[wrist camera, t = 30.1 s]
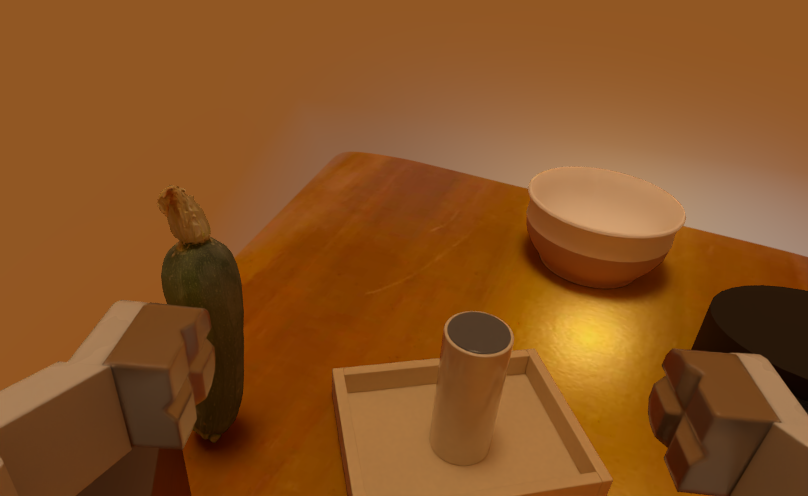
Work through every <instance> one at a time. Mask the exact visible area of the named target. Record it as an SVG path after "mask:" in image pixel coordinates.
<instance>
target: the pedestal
mask: <svg viewBox="0 0 808 496" xmlns="http://www.w3.org/2000/svg"><path fill="white" fill-rule="evenodd" d="M131 448H132V450H131V451H130V452H128V453H127V454H126V455H125V456H123V457H122V458H121V459H120V460H119V461H117V462H116V463H115V464H114V465H112V466H111V467H110V468H109V469H108V470H106V471H105V472H104V473H103V474H101V475H100V476H99V477H98V478H97V479H95V480H94V481H93V482H92V483H91V484H89V485H88V486H87V487H86V488H84V489H83V490H82V491H81V492H80V493H78V494H77V495H76V496H191V492H190V487H189V482H188V477H187V472H186V467H185V461H184V456H183V451H182V450H180V449H162V448H145V447H131Z"/></svg>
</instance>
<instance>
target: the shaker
mask: <svg viewBox="0 0 808 496" xmlns="http://www.w3.org/2000/svg"><path fill="white" fill-rule="evenodd" d="M513 344H514V335H513V332H512V330H511V328H510V327H509V326H508V325H507V324H506V323H505V322H504V321H503V320H501V319H500V318H498V317H496V316H494V315H491V314H488V313H484V312H479V311H467V312H461V313H458V314H456V315H454V316H452V317H451V318H449V319H448V321H447V322H446V324H445V326H444V331H443V339H442V346H441V353H440V360H439V368H438V375H437V382H436V390H435V397H434V404H433V411H432V419H431V426H430V433H429V441H430V445H431V447H432V449H433V450H434V452H435V453H436V454H437V455H438V456H439V457H440V458H441V459H443V460H444V461H446V462H448V463H451V464H454V465H459V466H469V465H474V464H476V463H479V462H480V461H482V460H483V459H484V458H485V457H486V456H487V455H488V453H489V450H490V447H491V442H492V438H493V433H494V429H495V424H496V420H497V415H498V411H499V406H500V402H501V397H502V393H503V388H504V384H505V379H506V375H507V371H508V366H509V362H510V357H511V353H512V348H513Z"/></svg>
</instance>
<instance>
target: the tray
mask: <svg viewBox="0 0 808 496" xmlns="http://www.w3.org/2000/svg"><path fill="white" fill-rule="evenodd" d="M439 360H440V358H436V359H426V360H416V361H406V362H396V363H387V364H377V365H367V366H357V367H347V368H335V369H332V396H333V402H334V409H335V415H336V422H337V428H338V435H339V442H340V448H341V455H342V461H343V468H344V474H345V481H346V488H347V494H348V496H607V494H608V491H609V489H610V486H611V484H612V482H613V479H612V477H611V475H610V474H609V472H608V470H607V469H606V467H605V465H604V464H603V462H602V460H601V459H600V457H599V455H598V454H597V452H596V450H595V449H594V447H593V445H592V444H591V442H590V440H589V439H588V437H587V435H586V434H585V432H584V430H583V429H582V427H581V425H580V424H579V422H578V420H577V419H576V417H575V415H574V414H573V412H572V410H571V409H570V407H569V405H568V404H567V402H566V400H565V399H564V397H563V395H562V393H561V392H560V390H559V388H558V387H557V385H556V383H555V382H554V380H553V378H552V377H551V375H550V373H549V372H548V370H547V368H546V367H545V365H544V363H543V362H542V360H541V358H540V357H539V355H538V353H537V352H536V350H535V349H527V350H516V351H512V353H511V357H510V362H509V366H508V371H507V375H506V379H505V384H504V388H503V393H502V397H501V402H500V406H499V411H498V415H497V420H496V424H495V429H494V433H493V438H492V442H491V447H490V450H489V453H488V455H487V456H486V457H485V458H484V459H483V460H482V461H480V462H479V463H476V464H474V465H469V466H459V465H454V464H451V463H448V462H446V461H444V460H443V459H441V458H440V457H439V456H438V455H437V454H436V453H435V452H434V450H433V449H432V447H431V445H430V441H429V433H430V426H431V419H432V411H433V404H434V397H435V390H436V382H437V375H438V368H439Z"/></svg>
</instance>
